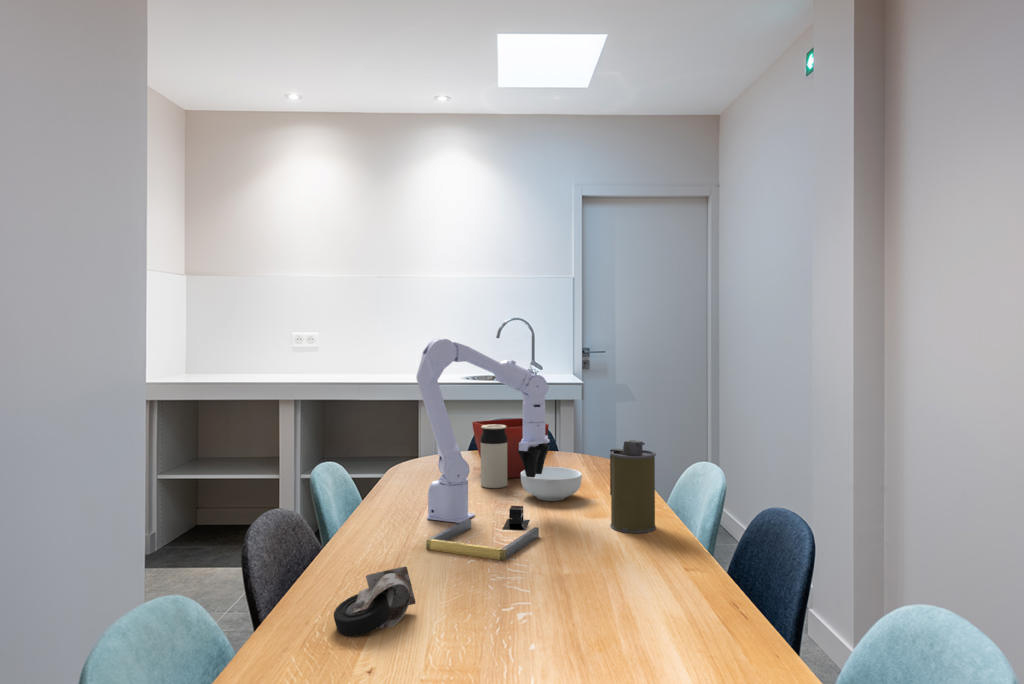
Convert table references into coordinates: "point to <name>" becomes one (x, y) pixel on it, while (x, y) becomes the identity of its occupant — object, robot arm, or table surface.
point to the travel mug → (493, 456)
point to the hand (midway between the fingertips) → (534, 475)
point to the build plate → (516, 519)
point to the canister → (632, 488)
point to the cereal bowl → (552, 483)
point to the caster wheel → (376, 603)
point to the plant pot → (513, 439)
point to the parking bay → (442, 544)
